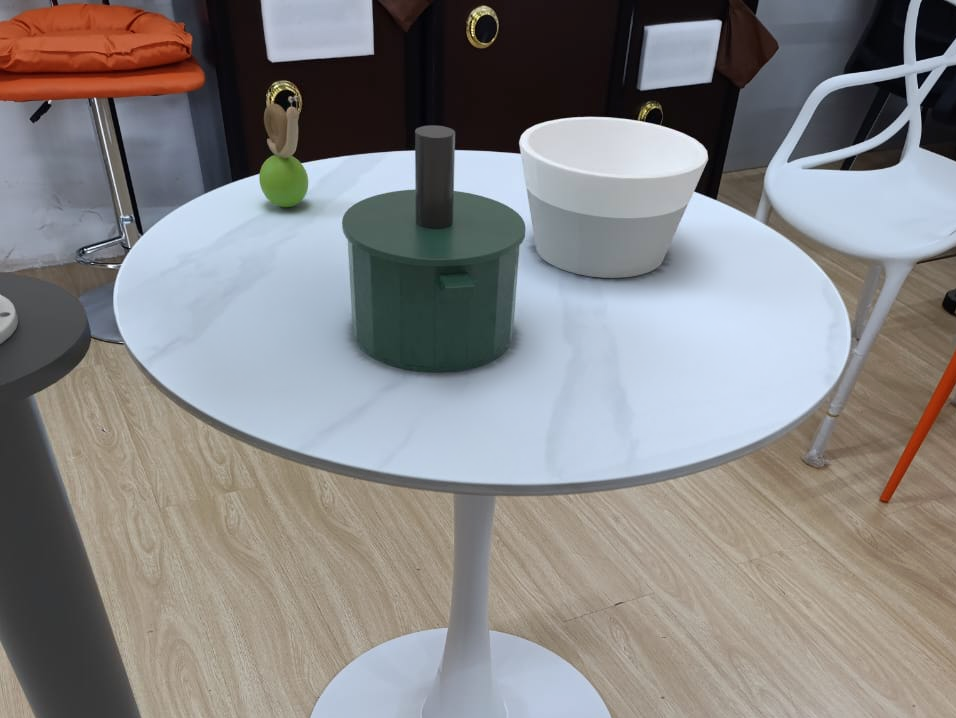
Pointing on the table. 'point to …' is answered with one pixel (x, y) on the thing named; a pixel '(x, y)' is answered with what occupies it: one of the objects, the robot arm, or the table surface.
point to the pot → (432, 311)
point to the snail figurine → (283, 158)
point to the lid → (433, 215)
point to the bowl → (607, 192)
